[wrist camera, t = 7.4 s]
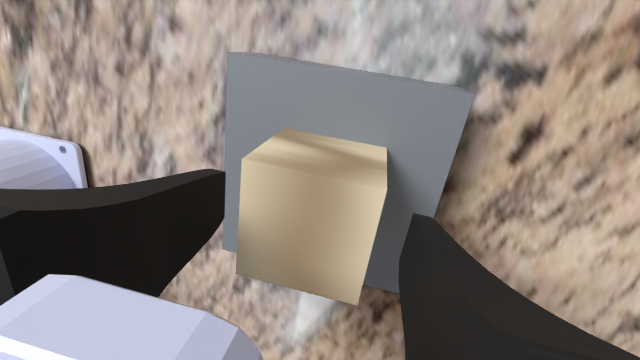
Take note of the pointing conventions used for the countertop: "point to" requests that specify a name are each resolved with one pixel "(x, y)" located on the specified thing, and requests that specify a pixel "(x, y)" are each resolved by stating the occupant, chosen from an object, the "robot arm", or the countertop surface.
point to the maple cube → (310, 212)
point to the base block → (348, 135)
